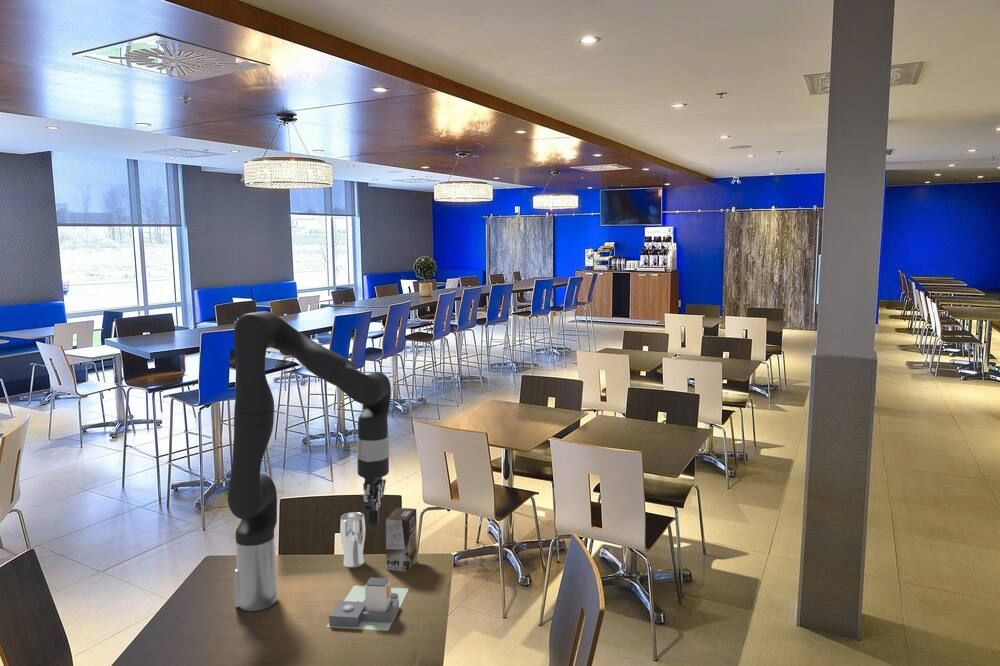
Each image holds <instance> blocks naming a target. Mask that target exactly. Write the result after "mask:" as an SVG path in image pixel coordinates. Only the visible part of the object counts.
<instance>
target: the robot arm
mask: <svg viewBox="0 0 1000 666" xmlns="http://www.w3.org/2000/svg"><path fill="white" fill-rule="evenodd" d="M233 329H234V330H233V343H234V357H235V397H234V398H235V400H234V411H233V412H234V414H233V443H232V462H231V469H230V470H231V471H230V478H229V484H228V490H227V504H228V508H229V510H230V512H231V513H232V515H233V516H235V518H237V519H239V520H240V522H239V525H238V526H237V527H236V529H235V552H236V569H235V570H234V572H233V579H234V580H233V584H234V585H233V586H234V603H235V606H234V607H235V608H240V609H241V610H243V611H247V612H258V611H262V610H265V609H268V608H270V607H272V606H273V605H274V604H275V603H276V602H277V600H278V594H277V593H278V591H277V589H278V588H277V570H276V569H277V567H276V546H275V528H276V526H277V521H278V519H277V518H278V494H277V488H276V484H275V482H274V481H273V479H272V478H271V477H270V476H269V475H267V474H265V473H261V468H262V462H263V459H264V455H265V453H266V450H267V449H268V445H269V442H270V440H271V436H272V433H273V429H274V421H275V420H274V419H275V401H274V400H275V399H274V396H273V393H272V390H271V387H270V385H269V382H268V380H267V376H266V355H267V349H270V348H272V349H275V350H277V351H280V352H284V353H285V354H288V355H290V356H291V357H293V358H294V359H296V360H297V361H298V362H299V363H300V364H302V365H303V367H305V369H306V370H308V371H309V372H310V373H311V374H313V375H315V376H316V377H318V378H320V379H322V380H324V381H326V382H328V384H331V385H333V386H335V387H337V388H339V390H340V391H342V392H343V393H344V394H346V396H348V398H351V399H352V400H353V401H355V402H356V403H358V404H361V405H362V406H363V407H362V411H361V413H360V414H359V416H358V421H357V445H356V448H357V449H356V451H357V453H356V459H357V460H356V463H357V465H356V468H357V469H356V470H357V475H358V476H359V477H360V478H363V479H364V482H363V485H362V487H363V488H362V490H363V492H364V493H363V494H361V495H360V496H359V497H360V501H361V504H362V507H363V509H364V510H365V511H368V512H367V513H368V525H371V526H377V525H378V524H379V523H380V507H381V504H382V503H383V498H384V493H385V489H386V481H387V480H386V479H385V478H383V477H385V476H387V475H389V473H390V462H389V460H390V455H389V454H390V451H389V449H390V446H389V437H388V414H389V409H390V403H391V396H392V386H391V382H390V379H389V378H388V376H387V375H386V374H385V373H383V372H380V371H372V372H370V373H368V374H365V373H364V372H363V371H360V370H359V369H357V367H356V364H355V363H354V362H353V361H351V360H350V359H348V358H347V357H344V356H343V355H341V354H339V353H337V352H334V351H332V350H331V349H328V348H327V347H325V346H323V345H321V344H319V343H317V342H316V341H315V340H313V339H311V338H309V337H307V336H306V335H304V334H303V333H302V332H301V331H298V330H297V329H296V328H294V327H293V326H292V325H291V324H289V323H288V322H286V321H285V320H284V319H282V318H281V317H280V316H278V315H277V314H275V313H273V312H271V311H266V310H264V311H263V310H262V311H256V312H249V313H244V314H243V315H241V316H240V317H239V318H238V320H236V323H235V325H234V328H233Z"/></svg>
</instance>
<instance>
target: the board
mask: <svg viewBox="0 0 1000 666" xmlns="http://www.w3.org/2000/svg"><path fill="white" fill-rule="evenodd" d="M409 590H410V588H407V587H406V588H405V587H404V588H403V587H391V596H390V609H389V611H388V613H384V612H367V611H362V613H361V623H360V625H359V626H358V628H357V627H341V626H329V623H327V625H326V628H334V629H335V628H336V629H337V628H338V629H351V630H352V629H354V630H355V629H356V630H369V631H370V630H371V631H385V632H388V631H389V630H390V628H391V626H392V624H393V622H394V619H395V618H396V616H397V614H398V613H399V610H400V608H401V605H402V603H403V601H404V600H405V598H406V596H407V594H408V591H409ZM343 601H352V602H357V601H359V602H366V598H365V585H353V587H352V588H351V589H350V591H349V592H348V594H347V595H346V596H345V598H344V600H343Z"/></svg>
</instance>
